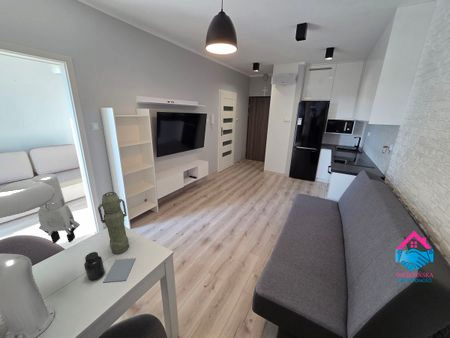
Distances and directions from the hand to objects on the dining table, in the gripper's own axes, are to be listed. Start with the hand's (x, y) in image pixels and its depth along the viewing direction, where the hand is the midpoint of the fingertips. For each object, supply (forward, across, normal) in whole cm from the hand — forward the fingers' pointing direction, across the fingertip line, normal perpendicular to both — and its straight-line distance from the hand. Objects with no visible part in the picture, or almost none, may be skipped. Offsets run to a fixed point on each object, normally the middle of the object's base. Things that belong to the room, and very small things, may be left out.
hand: (64, 240), depth 79 cm
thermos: (+22, +13, +17) cm, 30 cm away
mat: (+21, +19, +2) cm, 29 cm away
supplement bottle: (+22, +9, 0) cm, 23 cm away
